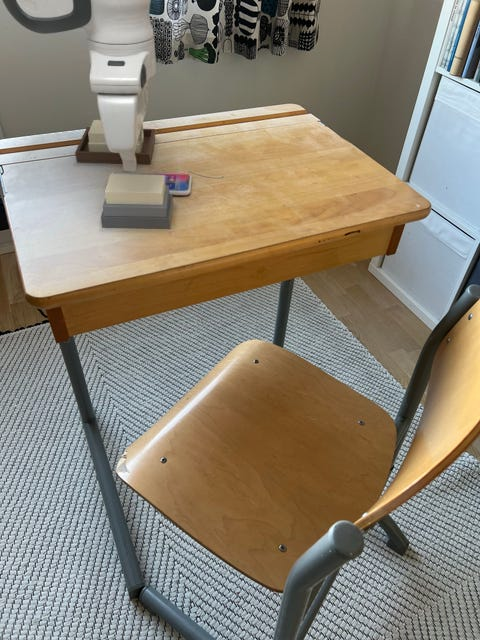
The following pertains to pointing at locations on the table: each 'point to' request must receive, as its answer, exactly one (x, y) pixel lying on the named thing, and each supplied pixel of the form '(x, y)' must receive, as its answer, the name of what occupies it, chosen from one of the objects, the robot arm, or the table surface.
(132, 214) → the grey book upper
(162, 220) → the grey book lower
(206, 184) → the table surface
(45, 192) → the table surface
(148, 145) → the book tray
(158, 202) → the cream book
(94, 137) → the cream book middle
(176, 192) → the smartphone
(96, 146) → the cream book base
